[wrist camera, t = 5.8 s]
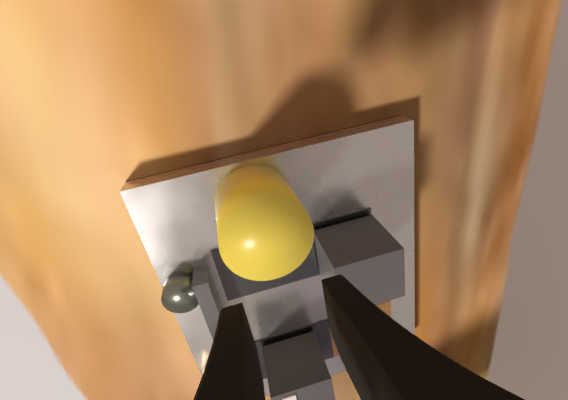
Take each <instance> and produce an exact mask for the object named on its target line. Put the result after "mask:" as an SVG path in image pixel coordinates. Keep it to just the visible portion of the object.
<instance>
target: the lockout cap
mask: <svg viewBox="0 0 568 400" xmlns="http://www.w3.org/2000/svg"><path fill="white" fill-rule="evenodd" d="M215 212H216V223H217V235H218V246H219V252H220V255H221V258H222V260H223V262H224V263H225V264H226V266H227V267H228V268H229V269H230V270H231V271H232V272H234V273H235V274H237V275H238V276H240V277H243V278H245V279H249V280H254V281H269V280H274V279H277V278H280V277H283V276H285V275H287V274H289V273H291V272H292V271H294V270H295V269H296V268H298V267H299V266H300V265H301V264H302V263H303V262H304V260H305V259H306V258H307V256H308V254H309V253H310V250H311V248H312V245H313V241H314V228H313V224H312V221H311V219H310V217H309V215H308V213H307V212H306V210H305V209H304V207H303V206H302V204H301V202H300V201H299V199H298V198H297V196H296V195H295V193H294V192H293V190H292V188H291V187H290V185H289V184H288V182H287V181H286V179H285V178H284V177H283V176H282V175H281V174H280V173H279V172H277V171H276V170H274V169H272V168H270V167H266V166H262V165H249V166H244V167H241V168H239V169H237V170H235V171H233V172H232V173H230V174H229V175H228V176H227V177H226V178H225V179H224V180H223V181H222V182H221V184H220V185H219V187H218V190H217V192H216V196H215Z"/></svg>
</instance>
